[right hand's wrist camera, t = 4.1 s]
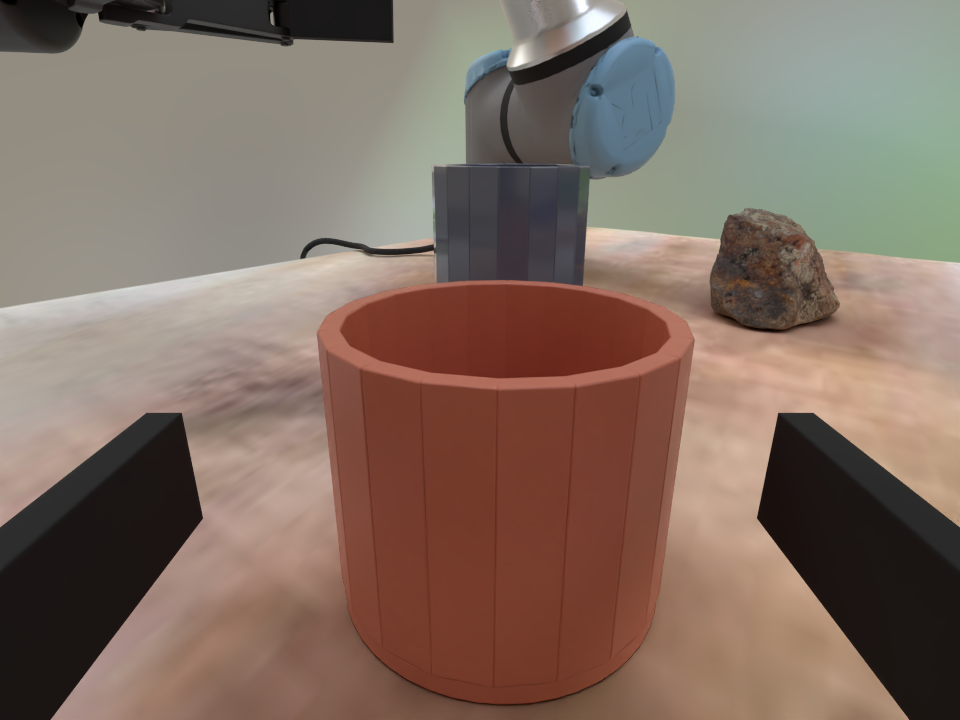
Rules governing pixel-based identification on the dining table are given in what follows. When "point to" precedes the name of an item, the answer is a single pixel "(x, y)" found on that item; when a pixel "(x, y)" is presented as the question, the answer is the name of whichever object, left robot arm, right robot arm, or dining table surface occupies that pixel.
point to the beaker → (510, 222)
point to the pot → (503, 478)
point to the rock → (769, 273)
